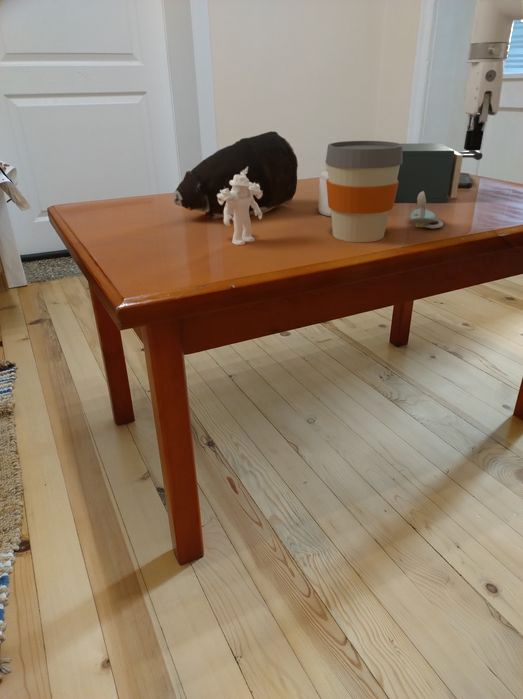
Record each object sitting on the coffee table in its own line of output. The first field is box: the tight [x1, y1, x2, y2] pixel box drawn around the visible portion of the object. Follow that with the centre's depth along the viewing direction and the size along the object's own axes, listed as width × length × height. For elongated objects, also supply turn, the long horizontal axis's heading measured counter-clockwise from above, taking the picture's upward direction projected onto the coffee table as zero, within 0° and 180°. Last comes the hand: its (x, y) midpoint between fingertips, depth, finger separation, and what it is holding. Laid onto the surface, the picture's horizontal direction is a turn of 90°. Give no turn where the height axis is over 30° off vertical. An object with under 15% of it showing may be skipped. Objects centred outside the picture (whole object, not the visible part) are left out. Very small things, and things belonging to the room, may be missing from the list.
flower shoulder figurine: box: [217, 167, 263, 246], centre depth 85 cm, size 9×4×12 cm, turn 135°
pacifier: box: [409, 191, 444, 230], centre depth 93 cm, size 7×6×6 cm
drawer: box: [448, 147, 483, 199], centre depth 116 cm, size 20×13×9 cm, turn 84°
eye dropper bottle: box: [317, 158, 331, 217], centre depth 102 cm, size 4×6×12 cm
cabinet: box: [394, 142, 455, 204], centre depth 116 cm, size 16×14×11 cm
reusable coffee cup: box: [325, 140, 403, 243], centre depth 87 cm, size 13×13×15 cm
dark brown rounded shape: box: [172, 130, 299, 220], centre depth 104 cm, size 15×15×25 cm
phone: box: [458, 172, 473, 189], centre depth 133 cm, size 8×1×15 cm
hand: (471, 149), depth 112 cm, fingers closed
